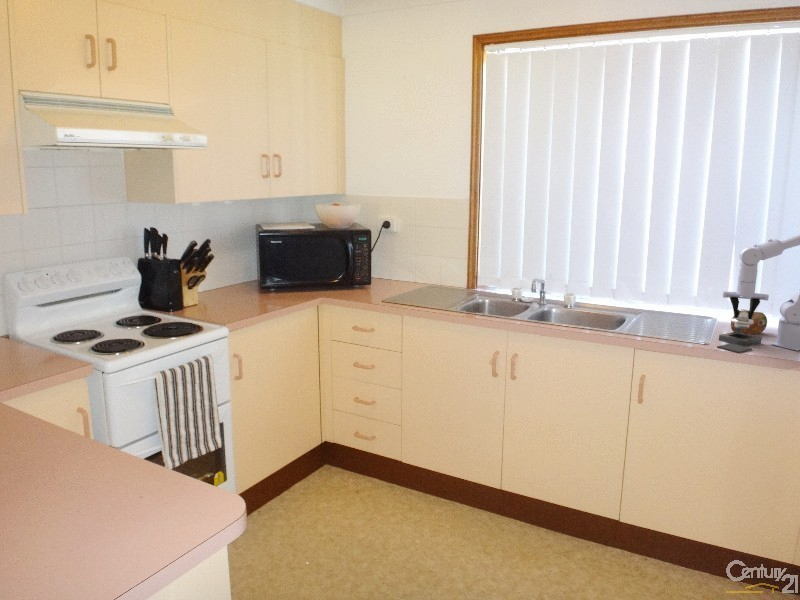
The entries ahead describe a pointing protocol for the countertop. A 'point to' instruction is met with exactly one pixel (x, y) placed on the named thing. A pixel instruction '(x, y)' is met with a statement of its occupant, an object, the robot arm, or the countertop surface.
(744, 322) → the door knob
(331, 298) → the countertop surface
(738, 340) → the frame
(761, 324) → the orange patterned rounded block
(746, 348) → the mat
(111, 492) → the countertop surface
